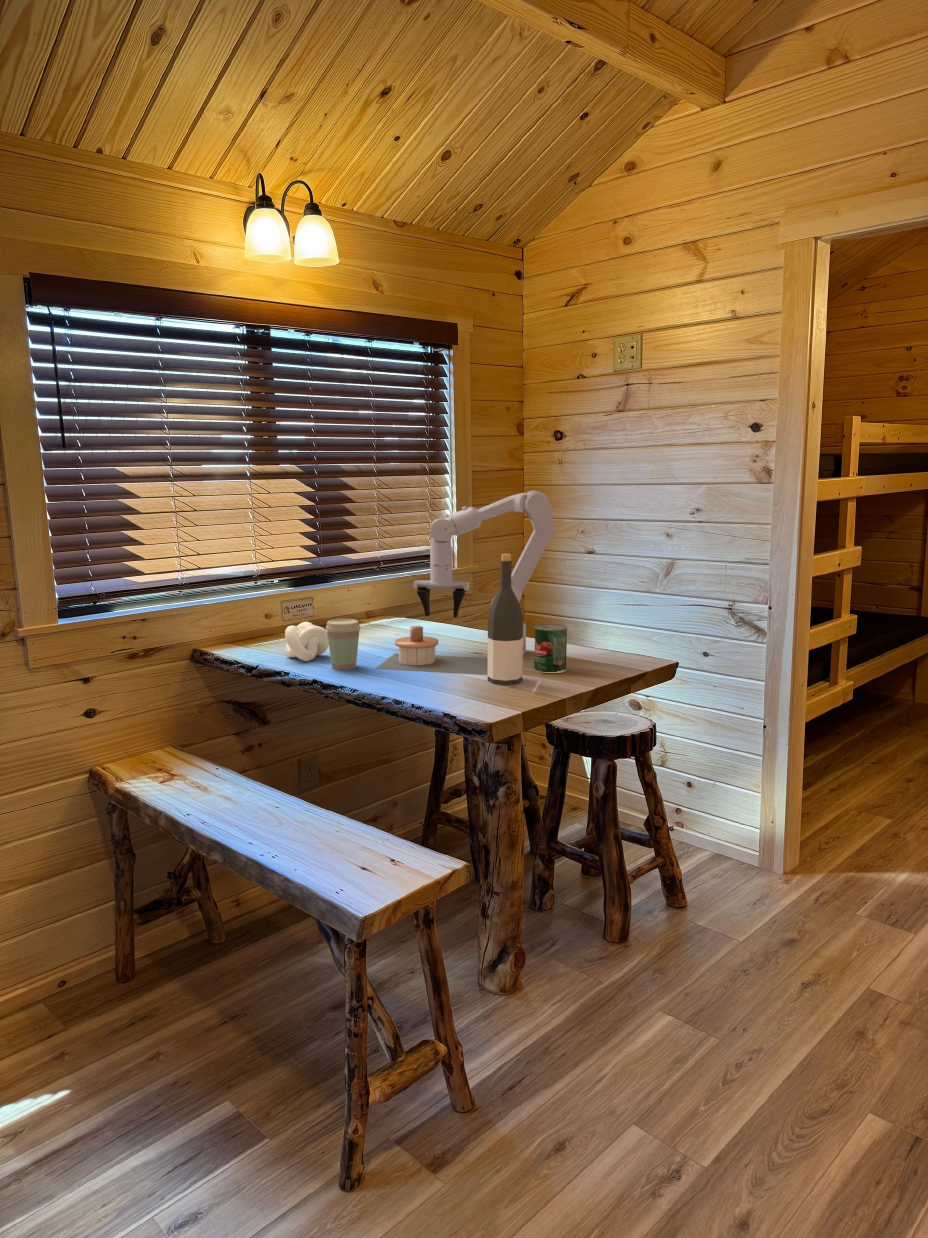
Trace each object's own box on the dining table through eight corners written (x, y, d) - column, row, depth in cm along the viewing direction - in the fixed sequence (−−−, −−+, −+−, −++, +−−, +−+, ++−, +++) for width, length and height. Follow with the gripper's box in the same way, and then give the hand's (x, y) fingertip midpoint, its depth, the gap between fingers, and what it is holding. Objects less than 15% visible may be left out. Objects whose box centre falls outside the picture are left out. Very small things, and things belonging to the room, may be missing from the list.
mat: (499, 660, 217) (499, 658, 217) (486, 676, 200) (486, 674, 200) (395, 655, 223) (394, 653, 222) (374, 670, 206) (374, 668, 206)
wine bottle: (480, 682, 196) (481, 554, 190) (503, 676, 201) (505, 551, 195) (505, 689, 190) (507, 557, 184) (529, 682, 195) (531, 554, 190)
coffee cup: (366, 666, 211) (365, 619, 209) (353, 674, 203) (352, 625, 200) (335, 663, 213) (334, 617, 211) (320, 671, 205) (319, 623, 203)
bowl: (438, 657, 217) (438, 640, 217) (429, 666, 209) (429, 648, 208) (405, 656, 219) (404, 639, 218) (395, 664, 211) (394, 646, 210)
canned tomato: (571, 668, 208) (572, 625, 206) (558, 675, 202) (559, 630, 200) (542, 664, 212) (543, 622, 210) (528, 671, 206) (529, 627, 204)
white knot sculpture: (313, 665, 211) (312, 630, 210) (272, 661, 215) (270, 627, 213) (334, 655, 222) (333, 622, 220) (294, 652, 226) (293, 619, 224)
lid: (447, 642, 214) (447, 626, 213) (419, 650, 205) (419, 633, 205) (414, 637, 221) (414, 621, 220) (386, 644, 212) (385, 628, 211)
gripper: (471, 563, 221) (471, 614, 223) (418, 562, 224) (418, 612, 226) (466, 567, 214) (466, 619, 217) (411, 565, 217) (411, 617, 220)
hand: (441, 616), depth 221 cm, fingers open, 7 cm apart
